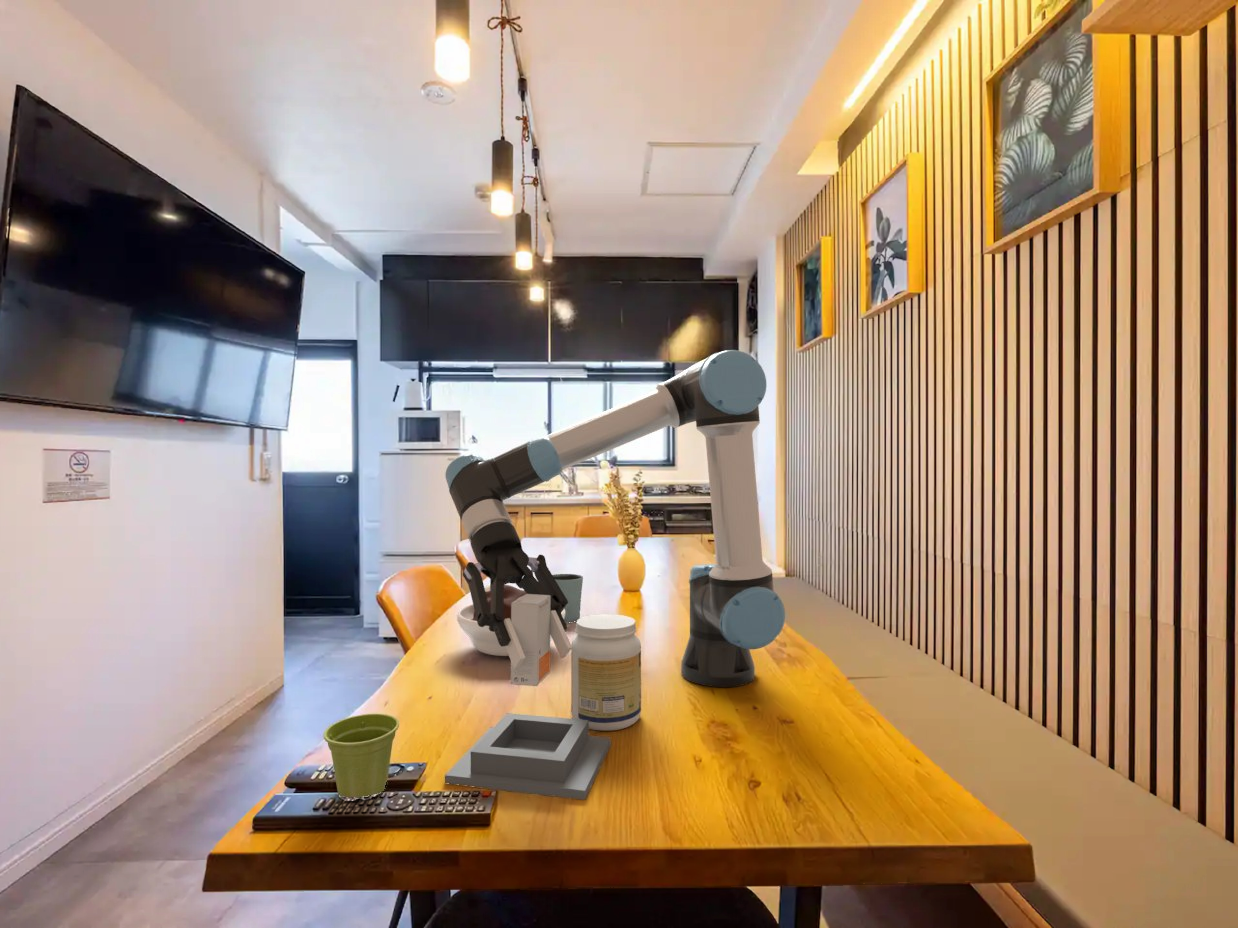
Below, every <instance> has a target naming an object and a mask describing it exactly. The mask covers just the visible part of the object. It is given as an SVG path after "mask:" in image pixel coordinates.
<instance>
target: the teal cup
mask: <svg viewBox="0 0 1238 928" xmlns="http://www.w3.org/2000/svg"><path fill="white" fill-rule="evenodd" d="M552 576H553V577H554V579H555V580H556V582H557V584H558V585H559V587H560V589H561V590H562V592H563V594H564V595H565V597H566V599H567V600H568V604H567V605H566V607H565V608H564V609H565V611H566V613H565V618H564V621H565V623H566V624H570V623H569V622H573V623H575V622H574V621H577V620H578V619H580V618H581V615H580V614H581V605H582V604H581V602H582V592H583V582H584V581H583V580H584V578H583V577H584V576H582V575H581V574H574V573H557V574H552Z"/></svg>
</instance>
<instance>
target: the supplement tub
mask: <svg viewBox="0 0 1238 928" xmlns="http://www.w3.org/2000/svg"><path fill="white" fill-rule="evenodd" d="M575 623H576V625H575V627H576V628H575V630H574V631H575V633H576V635H575V636H573V637H574V638H573V639H572V640H571V643H570V644H571V646H572V648H571V650H570V656H571V659H570V661H571V662H570V664H571V665H570V666H571V667H570V668H571V671H570V674H571V682H570V683H571V687H570V690H571V698H570V699H571V701H570V702H571V703H570V704H571V706H570V707H571V708H570V710H571V716H572V719H581V720H589V730H593V731H606V732H607V731H608V732H609V731H611V732H612V731H618V730H622V729H623V730H624V729H625V728H629V727H631V726H632V725H634V724H635V723H636V722H637V721H638V720H639V718H640V716H641V712H642V645H641V644H642V643H641V640H640V639H639V637H638V635H636V634H635V633H636V632H637V627H636V620H635V619H634V618H633V617H630V616H628V615H622V614H614V613H613V614H612V613H604V614H603V613H601V614H600V613H599V614H590V615H586V616H583V617H580V619H578V620H577V622H575Z"/></svg>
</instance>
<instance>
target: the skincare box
mask: <svg viewBox="0 0 1238 928" xmlns="http://www.w3.org/2000/svg"><path fill="white" fill-rule="evenodd" d="M550 597H551V596H550V595H536V594H525V595H524V596H522V597H519V598H518V599H517V600H515V601H514V602H512V603H511V623H512V625H513V628H514V630H515V633H516V635H517V638H518V640H519V643H520V645H521V648H522V650H523V653H524V655H525V659H524V661H523V662H522V664H521V665H520V667H519V668H516V669H514V667H513V665H512V662H511V661H510V684H511V685H515V686H516V685H517V686H528V687H529V686H530V687H538V686H539V684H541V683H542V681H543V680H544V679H545V678H546V677H547V676H548V675H550V673H551V641H550V603H551V601H550V600H551V598H550Z"/></svg>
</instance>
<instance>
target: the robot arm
mask: <svg viewBox="0 0 1238 928" xmlns="http://www.w3.org/2000/svg"><path fill="white" fill-rule="evenodd" d="M766 392H767V376H766V374H765V372H764V368H763V367H762V366H761V364H760V362H759V361H757V359H755V358H754V357H753V356H751V355H750V354H749V353H747V352H744V351H741V350H738V349H737V350H736V349H729V350H728V349H727V350H723V351H718V352H715V353H712V354H711V355H709V356H708V357H706V358H705V359H703V360H700V361H698V362H695V363H694V364H692V365H691V366H690V367H688V368H687V369H684V370H683V371H682V372H680V373H679V374H677V375H675V376H673V377H671V378H669V379H668V380H666V381H663V382H660V383H658V384H657V385H656V387H655V390H654V391H651V392H649V393H647V394H645V395H641V396H639V397H637V398H635V399H632V400H630V401H627V402H625V403H622V404H619V405H617V406H615V407H612V408H611V409H608V410H605V411H602V412H600V413H598V414H596V415H593V416H590V417H589V418H586V419H583V420H581V421H578V422H576V423H573V424H572V425H569V426H566V427H564V428H561V429H558V430H557V431H553V432H552V433H549V434H546V435H545V436H544V435H543V436H540V437H537V438H535V439H531V440H529V441H526V442H525V443H524V444H521V445H519V446H516V447H514V448H511V449H510V450H508V451H505V452H504V453H502V454H500V455H498V456H495V457H491V458H490V459H486V460H485V459H484V458H483V457H481V456H480V455H477V454H473V453H471V454H469V455H466V454H465V455H464V454H463V455H461V456H459V457H456V458H455V459H454V460H452V461H451V462H450V463H449V464H448V466H447V467H446V469H445V473H444V474H445V475H444V476H445V479H446V483H447V486H448V487H447V488H448V491H449V492H448V493H449V494H450V496H451V498H452V499H451V500H452V501H453V504H454V507H455V508H456V512H457V513H458V517H459V519H460V521H461V522H462V527H463V528H464V531H465V533H466V535H467V538H468V541H469V542H470V547H471V550H472V552H473V554H474V557H475V560H476V561H477V562H476V563H475V562H471V561H469V562H467V564H466V565H465V568H464V571H463V572H462V577H463V578H464V579H465V581H466V583H467V584H468V588H469V593H470V597H471V601H472V604H473V606H474V610H475V615H476V619H477V623H478V625H479V626H480V627H484V626H489V630H490V631H492V632H495V634H496V637H497V640H498V642H499V644H500V646H501V647H503V646H505V647H506V649H507V652H508V654H509V656H508V657H509V659H510V663H511V662H512V665H513V667H514V669H516V668H519V667H520V665H521V664H522V662H523V661H524V659H525V655H524V653H523V650H522V648H521V645H520V643H519V640H518V638H517V635H516V633H515V630H514V628H513V625H512V623H511V620H510V618H507V619H505V620H504V621H503V617H504V585H509V584H515V585H516V586H517V587H518V589H521V590H523V591H525V592H526V593H527V594H536V595H550V596H551V597H550V598H551V600H550V601H551V603H550V634H551V637H552V639H551V640H552V641H553V644H554V646H555V649H556V650H557V653H558V655H559V657H560V659H564V658H566V656H568V654H569V652H571V648H572V646H571V644H572V643H571V641H570V640H569V638H568V634H567V633H566V631H567V629H568V627H567V623H565V621H564V619H563V617H562V614H561V612H562V611H563V610H564V608H565V607H566V605H567V604H568V600H567V599H566V597H565V595H564V594H563V592H562V590H561V589H560V587H559V585H558V584H557V582H556V580H555V579H554V577H553V576H552V575H553V573H552V572H551V570H550V569H549V567H548V564H547V562H546V556H545V555H543V554H538V556H537V557H531V556H529V555H528V554H527V553H526V552H525V550H523V547H522V542H521V539H520V537H519V534H518V532H517V530H516V528H515V525H513V520H512V519H511V516H510V514H509V512H508V509H507V507H506V506H505V504H504V502H503V501H505V500H507V499H510V498H512V497H514V496H516V495H518V494H520V493H522V492H525V491H527V490H530V489H532V488H535V487H536V486H539V485H541V484H543V483H545V482H546V483H547V482H550V481H551V480H552V479H553V478H555V477H557V476H559V475H561V474H562V472H563V470H566V469H568V468H571V467H573V466H576V465H578V464H580V463H583V462H585V461H587V460H590V459H592V458H595V457H597V456H600V455H602V454H604V453H606V452H609V451H611V450H614V449H617V448H619V447H622V446H623V445H626V444H628V443H631V442H633V441H635V440H637V439H640V438H642V437H645V436H647V435H650V434H652V433H654V432H657V431H659V430H663V429H665V428H667V427H668V426H670V427H672V428H674V429H677V428H680V427H682V426H685V425H687V424H691V423H694V422H695V425H696V427H695V428H696V430H697V431H699V432H700V433H701V434H702V435H703V436H704V437H705V438H704V439H705V447H706V460H707V471H708V481H709V491H710V492H709V493H710V506H711V518H712V528H713V529H712V530H713V542H714V543H713V544H714V552H715V554H714V555H715V563H714V564H713V563H709V564H695V565H693V566H692V567H691V569H690V572H689V573H690V574H689V580H688V583H689V638H688V642H687V644H686V647H685V650H684V654H683V656H682V659H681V665H680V673H681V676H682V677H683V678H684V679H685V680H687V681H690V682H691V683H695V684H697V685H703V686H707V687H715V688H717V687H718V688H732V687H739V686H743V685H747V684H749V683H752V682H753V681H754V679H755V678H756V677H755V676H756V674H755V670H756V669H755V662H754V660H753V656H752V653H751V650H757V649H758V650H759V649H762V648H764V647H766V646H768V645H771V643H773V642H774V641H775V639H776V638H777V637H778V636H779V635H780V633H781V632H782V630H783V627H785V626H784V625H785V620H786V608H785V606H784V603H783V601H782V599H781V598H780V596H779V595H778V594H777V593H776V592H775V591H774V590H775V589H774V581H773V580H774V577H773V570H772V568H771V567H770V566H769V565H767V564H766V563H765V562H764V561H763V548H762V537H761V535H762V534H761V524H760V514H759V511H760V510H759V500H758V487H757V477H756V466H755V464H756V463H755V453H754V452H755V451H754V440H753V432H754V430H756V428H757V427H758V426H759V425H760V423H761V422H760V421H761V420H760V410H759V409H760V408H759V407H760V404H761V402H762V401H763V400H764V397H765V395H766ZM482 574H483V575H484V576H485V577H487V578H489V583H490V590H491V613H490V609H489V605H488V601H487V596H486V592H485V584H484V581H483V577H482ZM534 576H535V577H534Z"/></svg>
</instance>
